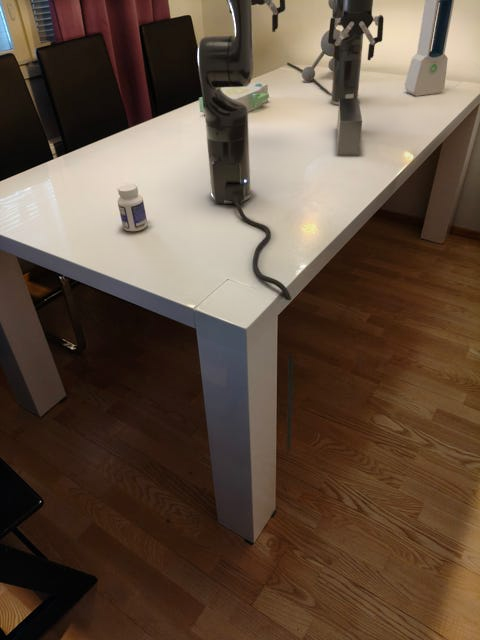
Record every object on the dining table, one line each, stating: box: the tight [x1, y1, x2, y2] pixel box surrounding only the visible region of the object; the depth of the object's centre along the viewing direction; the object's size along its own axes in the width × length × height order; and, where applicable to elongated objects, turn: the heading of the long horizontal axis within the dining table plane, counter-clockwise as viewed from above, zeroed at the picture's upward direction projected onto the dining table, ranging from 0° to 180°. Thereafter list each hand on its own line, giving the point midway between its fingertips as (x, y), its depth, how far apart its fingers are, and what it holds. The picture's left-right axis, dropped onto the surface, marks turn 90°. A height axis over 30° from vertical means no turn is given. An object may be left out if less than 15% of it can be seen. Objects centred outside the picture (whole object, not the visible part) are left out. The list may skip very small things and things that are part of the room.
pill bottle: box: [117, 182, 148, 232], centre depth 102 cm, size 5×5×9 cm
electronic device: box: [404, 0, 455, 97], centre depth 172 cm, size 12×8×30 cm, turn 105°
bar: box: [336, 97, 363, 157], centre depth 139 cm, size 23×6×9 cm, turn 172°
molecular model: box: [301, 0, 342, 82], centre depth 196 cm, size 24×22×30 cm
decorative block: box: [198, 82, 270, 114], centre depth 174 cm, size 26×6×20 cm
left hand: (257, 32), depth 129 cm, fingers open, 8 cm apart
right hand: (353, 60), depth 135 cm, fingers open, 8 cm apart
